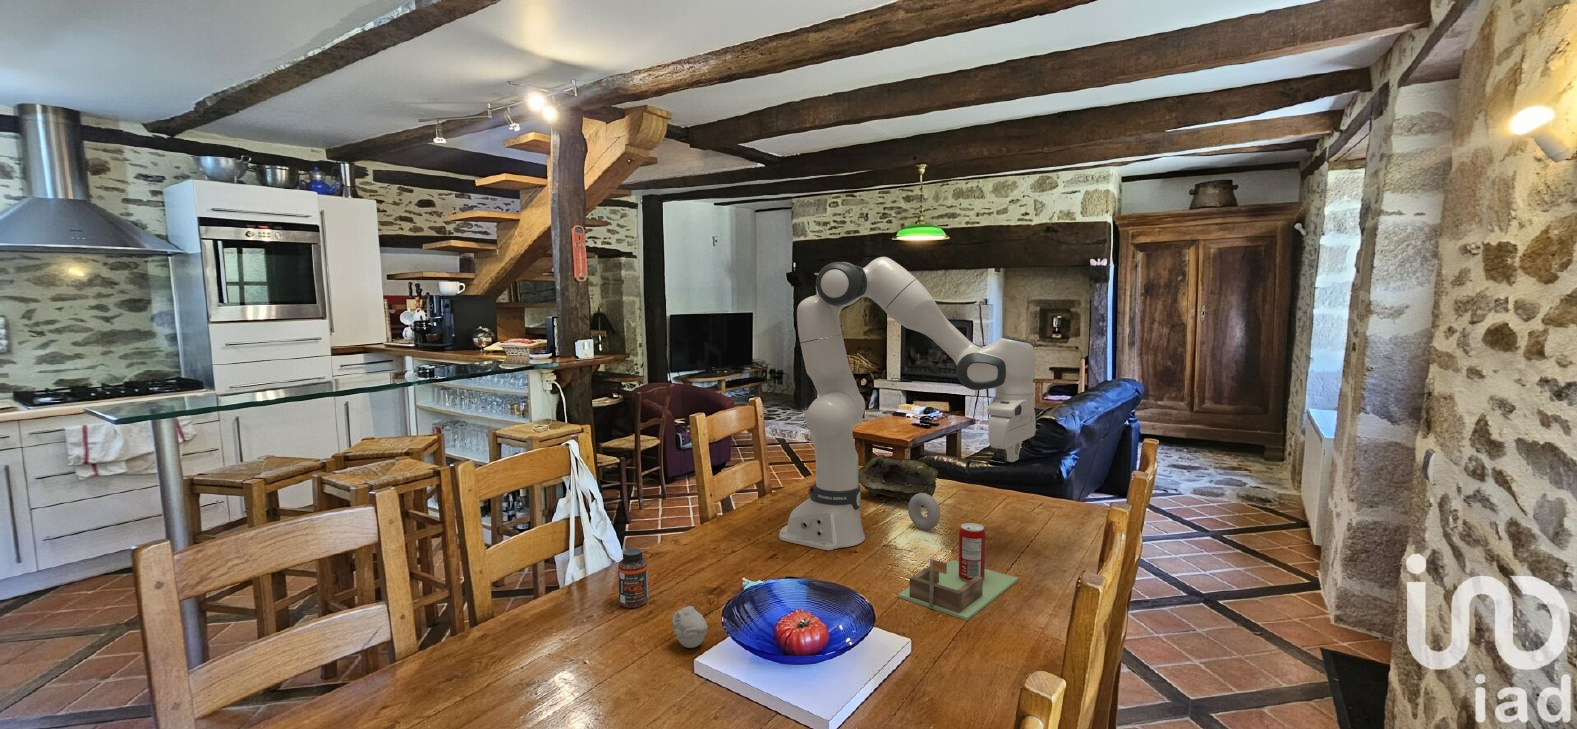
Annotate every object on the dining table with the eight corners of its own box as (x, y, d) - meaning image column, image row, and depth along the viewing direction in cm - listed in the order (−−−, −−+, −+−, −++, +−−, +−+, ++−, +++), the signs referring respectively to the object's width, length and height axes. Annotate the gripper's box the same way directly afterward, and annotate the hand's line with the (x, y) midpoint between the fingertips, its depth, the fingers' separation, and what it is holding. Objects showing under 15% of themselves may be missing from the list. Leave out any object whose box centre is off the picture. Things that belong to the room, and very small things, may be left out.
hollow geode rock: (937, 526, 199) (959, 483, 204) (918, 503, 192) (942, 460, 197) (867, 501, 220) (889, 463, 225) (847, 480, 213) (871, 442, 218)
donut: (942, 532, 180) (943, 496, 179) (934, 535, 178) (935, 499, 177) (913, 523, 188) (913, 488, 187) (905, 526, 185) (905, 490, 184)
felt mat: (952, 562, 160) (952, 559, 160) (1018, 580, 150) (1018, 578, 150) (897, 597, 143) (897, 594, 142) (967, 620, 132) (967, 617, 132)
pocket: (934, 580, 149) (934, 537, 148) (982, 595, 141) (983, 549, 140) (906, 598, 140) (906, 552, 139) (956, 615, 133) (956, 566, 132)
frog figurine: (690, 633, 129) (689, 598, 128) (715, 645, 124) (714, 608, 124) (665, 646, 124) (664, 610, 123) (691, 659, 120) (690, 621, 119)
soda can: (975, 571, 153) (976, 520, 152) (989, 581, 148) (990, 528, 147) (953, 574, 152) (954, 523, 151) (967, 584, 146) (968, 530, 145)
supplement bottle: (623, 612, 138) (620, 558, 137) (616, 600, 143) (614, 548, 142) (651, 605, 140) (649, 553, 139) (644, 594, 146) (642, 543, 145)
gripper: (1018, 397, 172) (1016, 451, 173) (984, 408, 156) (982, 466, 158) (1043, 400, 168) (1041, 454, 169) (1010, 411, 152) (1008, 471, 154)
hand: (1012, 460), depth 163 cm, fingers closed
